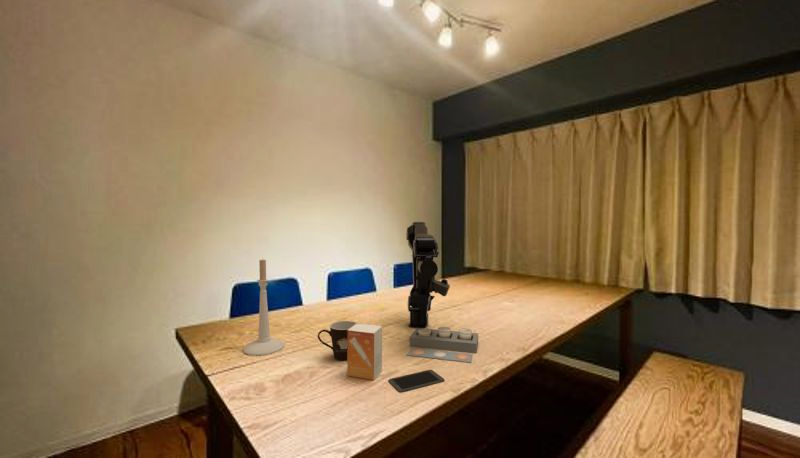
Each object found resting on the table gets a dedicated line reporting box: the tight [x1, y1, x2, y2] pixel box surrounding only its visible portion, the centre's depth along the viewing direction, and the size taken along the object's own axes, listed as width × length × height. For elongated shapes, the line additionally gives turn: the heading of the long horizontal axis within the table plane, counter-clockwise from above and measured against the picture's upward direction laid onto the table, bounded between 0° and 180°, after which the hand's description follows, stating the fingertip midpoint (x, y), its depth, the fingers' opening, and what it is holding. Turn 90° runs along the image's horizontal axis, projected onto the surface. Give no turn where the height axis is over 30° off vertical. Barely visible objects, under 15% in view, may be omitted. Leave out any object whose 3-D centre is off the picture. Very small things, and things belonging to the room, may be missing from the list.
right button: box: [458, 327, 473, 340], centre depth 118 cm, size 4×4×3 cm
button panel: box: [409, 327, 479, 354], centre depth 120 cm, size 22×10×3 cm, turn 74°
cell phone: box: [387, 369, 446, 394], centre depth 93 cm, size 7×14×1 cm, turn 117°
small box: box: [346, 323, 383, 381], centre depth 97 cm, size 8×6×13 cm
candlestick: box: [242, 259, 286, 356], centre depth 115 cm, size 13×13×30 cm
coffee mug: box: [317, 320, 358, 362], centre depth 109 cm, size 12×9×10 cm
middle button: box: [437, 326, 452, 338], centre depth 120 cm, size 4×4×3 cm
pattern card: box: [406, 347, 473, 364], centre depth 110 cm, size 20×6×1 cm, turn 74°
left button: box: [418, 328, 431, 336], centre depth 122 cm, size 4×4×3 cm
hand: (424, 317), depth 121 cm, fingers closed
